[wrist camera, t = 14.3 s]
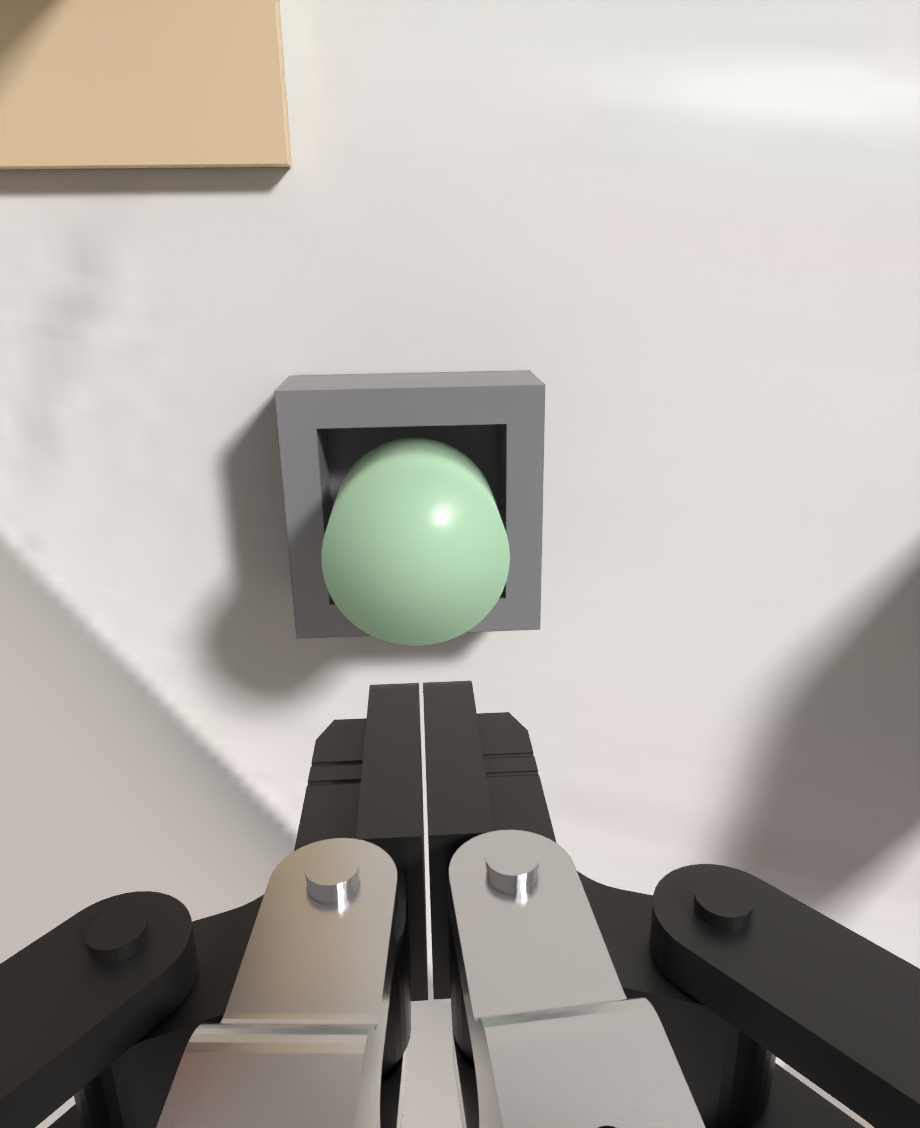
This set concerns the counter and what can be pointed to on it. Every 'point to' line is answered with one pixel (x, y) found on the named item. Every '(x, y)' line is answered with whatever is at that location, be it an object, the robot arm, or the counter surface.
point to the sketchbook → (142, 84)
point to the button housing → (411, 410)
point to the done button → (415, 544)
